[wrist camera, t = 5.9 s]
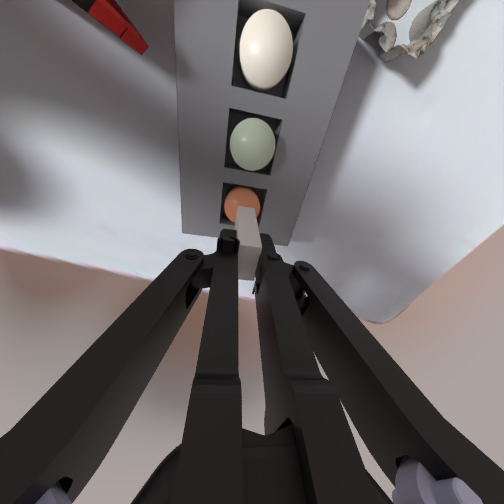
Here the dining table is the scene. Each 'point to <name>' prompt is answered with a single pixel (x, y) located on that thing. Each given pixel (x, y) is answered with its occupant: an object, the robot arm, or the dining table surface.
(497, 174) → the dining table surface
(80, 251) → the dining table surface
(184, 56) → the console
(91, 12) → the mug
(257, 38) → the cream button
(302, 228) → the dining table surface
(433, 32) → the egg carton
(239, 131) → the sage button
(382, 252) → the dining table surface
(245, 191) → the rust button
